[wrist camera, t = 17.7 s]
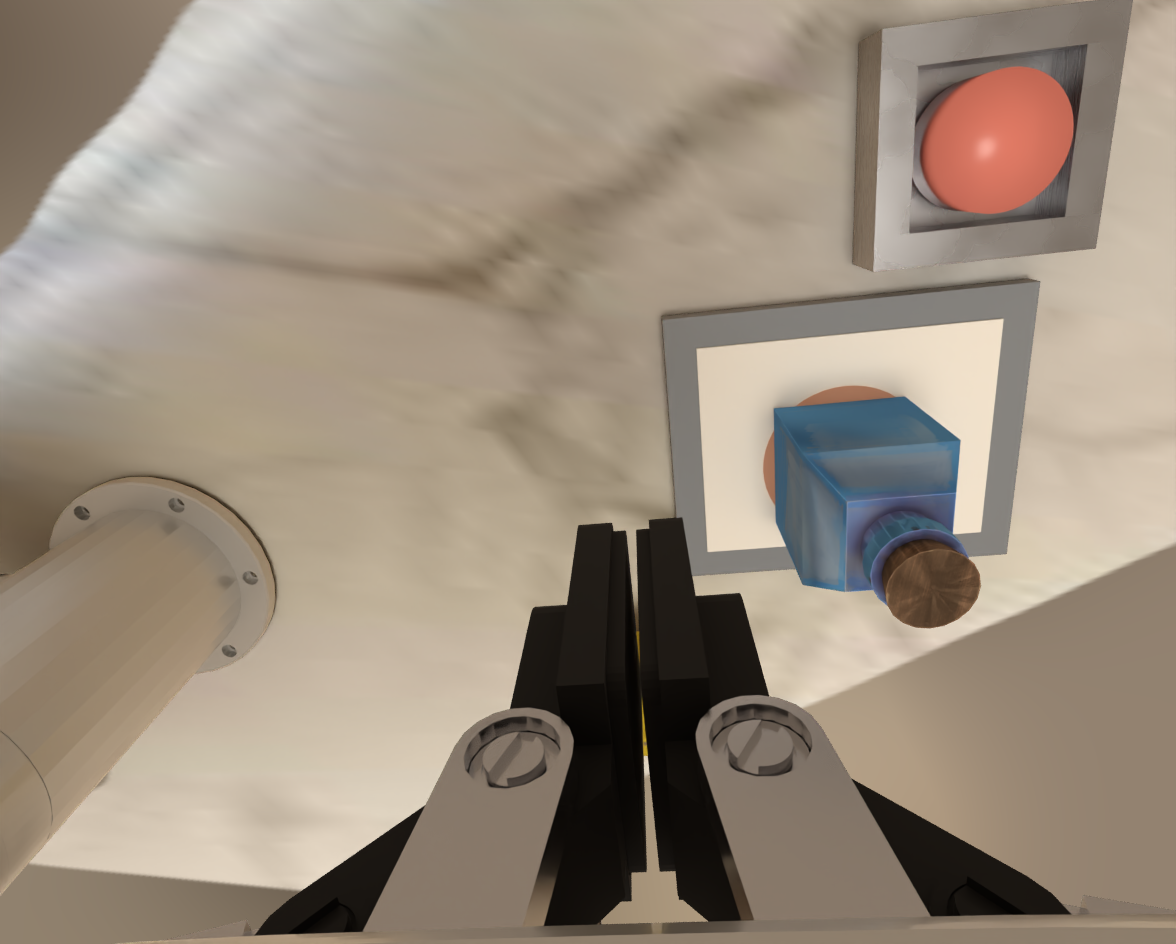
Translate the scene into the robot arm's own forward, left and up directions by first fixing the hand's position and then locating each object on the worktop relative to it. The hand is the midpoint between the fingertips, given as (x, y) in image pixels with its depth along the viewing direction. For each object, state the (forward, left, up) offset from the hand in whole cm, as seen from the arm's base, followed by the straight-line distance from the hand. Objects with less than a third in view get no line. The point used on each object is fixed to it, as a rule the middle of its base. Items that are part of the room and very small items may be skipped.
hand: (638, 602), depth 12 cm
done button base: (+15, +6, -25) cm, 30 cm away
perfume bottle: (+10, -8, -24) cm, 27 cm away
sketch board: (+10, -7, -25) cm, 28 cm away
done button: (+15, +6, -24) cm, 29 cm away
